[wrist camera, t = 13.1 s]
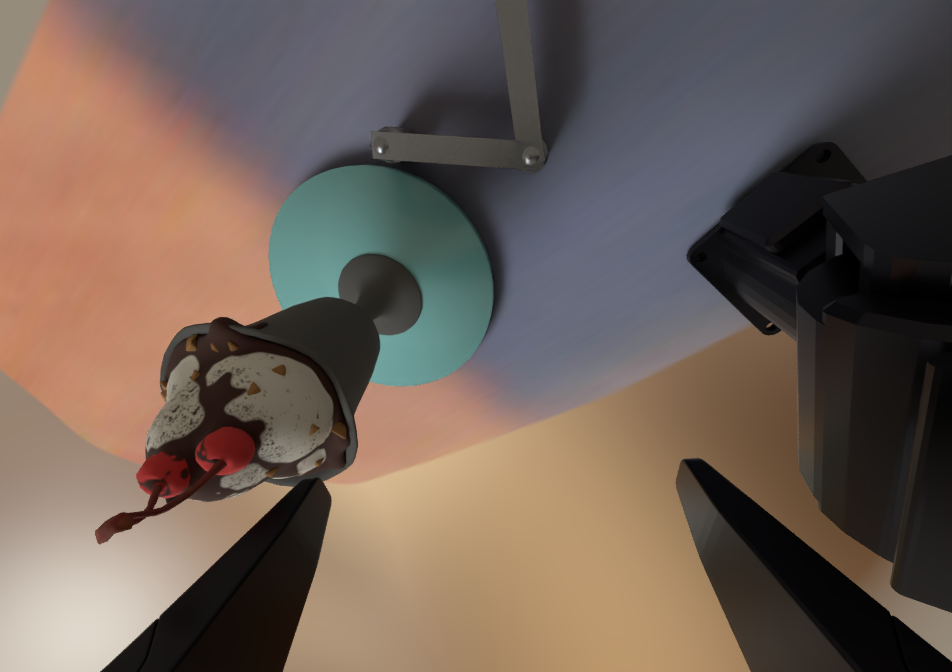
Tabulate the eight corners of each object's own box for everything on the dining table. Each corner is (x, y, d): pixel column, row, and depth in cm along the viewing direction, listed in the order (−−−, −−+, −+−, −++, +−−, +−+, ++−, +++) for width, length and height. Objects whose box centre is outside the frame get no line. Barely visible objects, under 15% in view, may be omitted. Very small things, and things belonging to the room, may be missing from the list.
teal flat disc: (543, 276, 19) (543, 283, 18) (415, 408, 25) (410, 418, 24) (338, 101, 17) (327, 99, 16) (250, 294, 23) (239, 300, 22)
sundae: (437, 241, 18) (181, 495, 5) (436, 353, 21) (280, 680, 8) (315, 229, 19) (-181, 427, 6) (333, 339, 22) (41, 622, 9)
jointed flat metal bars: (643, 38, 14) (668, 14, 11) (486, 233, 19) (478, 249, 16) (500, -121, 13) (490, -192, 10) (368, 132, 17) (337, 131, 14)
